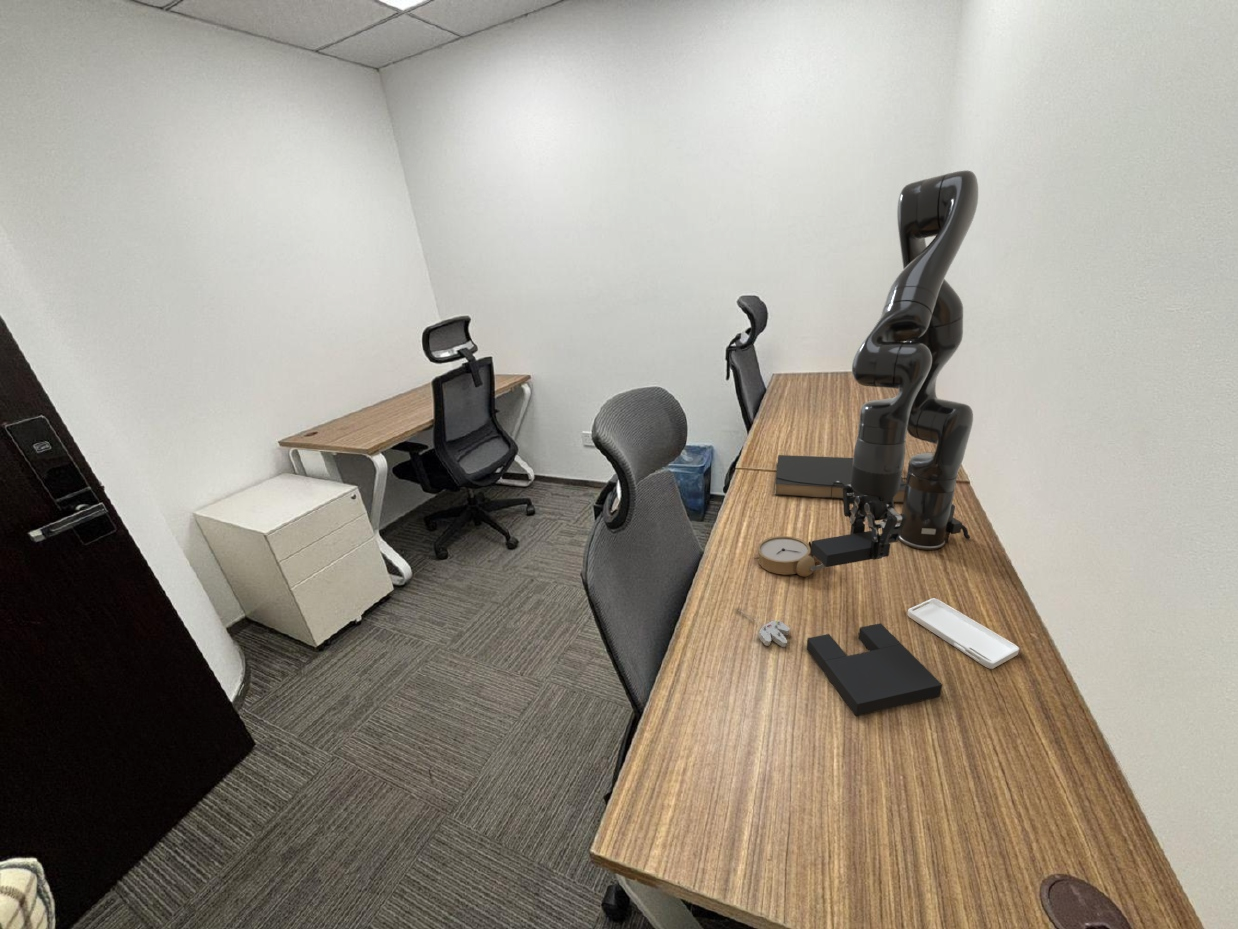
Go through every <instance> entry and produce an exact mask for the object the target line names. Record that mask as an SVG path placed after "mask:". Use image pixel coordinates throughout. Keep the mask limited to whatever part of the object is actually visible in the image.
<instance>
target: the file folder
mask: <svg viewBox="0 0 1238 929" xmlns="http://www.w3.org/2000/svg"><path fill="white" fill-rule="evenodd" d="M852 464H853V457H844V456H843V457H841V456H840V457H839V456H837V457H836V456H813V455H790V454H789V455H787V454H778V455H777V463H776V474H775V483H774V484H775V485H774V486H775V487H774V496H788V497H803V498H817V499H830V500H833V499H834V500H843V486H844V485H849V484H850V482H851V473H852ZM905 485H906V482H905V481H904V479H903V477H902V478H901V484H900V490H899V491H898V493H897V494H896V495H895V496H894V497H893V503H895V504H903V498H904V491H905Z"/></svg>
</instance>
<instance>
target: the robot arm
mask: <svg viewBox="0 0 1238 929" xmlns="http://www.w3.org/2000/svg"><path fill="white" fill-rule="evenodd" d="M978 204H979V183H978V178H977V176H976V174H975V173H974V172H973V171H972V170H969V169H968V170H966V169H965V170H958V171H953V172H948V173H945V174H941V175H937V176H933V177H930V178H925V179H921V180H917V181H914V182H910V183H907V184H906V185H905V186H903V188H902V189H901V191H900V192H899V196H898V200H897V208H896V218H897V222H896V223H897V232H898V238H899V247H900V254H901V262H902V271H900V273H899V274H897V276H896V277H895V279H894V280H893V282H892V283H891V285H890V287H889V290H888V292H887V296H886V298H885V302H884V305H883V308H882V311H881V314H880V317H879V319H878V320H877V322H876V323H875V325H874V326H873V328H872V329H871V331H870V332H869V334H868V335H867V336H866V337H865V339H864V340H863V342H862V343H861V344H860V345H859V347H858V349H857V351H856V353H855V355H854V357H853V360H852V364H851V373H852V376H853V379H854V380H855V382H856V383H857V384H858V385H860V386H864V387H869V388H885V389H897V390H898V392H897V394H896V396H894V397H890V398H882V399H881V398H880V399H875V400H874V399H873V400H869V401H866V402H864V404H863V405H861V408H860V411H859V418H858V428H857V436H856V441H855V444H854V449H853V455H852V458H853V464H852V473H851V482H850V484H849V485H844V486H843V499H842V502H843V503H842V504H843V515H844V517H846V518H847V517H848V518H849V521H848V522H849V524H850V533H849V534H855V533H861V532H865V530H866V524H865V522H866V521H867V526H868V528H869V529H870V531H872V539H873V540H872V542H871V550H870V558H872V559H871V560H873V561H875V560H881V559H883V558H885V557H884V556H885V550H886V544H888V543H889V544H893V543H897V542H898V541H900V542H901V543H902V544H904V545H905V546H907V547H910V548H913V549H917V550H923V551H935V550H936V551H937V550H939V549H942V548H943V547H944V546H945V544H948V543H949V540H950V535H955V534H961V531H962V533H963V534H962V535H963V537H964V538H965V539H966V540H970V539H971V536H970V534H969V531H968V528H967V527H966V526H965V525H964V524H963V522H962V521H960V520H958V519H956V518H955V517H954V514H955V511H956V506H955V504H954V503H953V500H954V496H955V490H956V485H957V481H958V475H959V470H960V468H961V467H962V466H961V465H962V463H963V461H964V458H965V455H966V450H967V448H968V442H969V439H970V436H971V432H972V428H973V424H974V423H973V422H974V411H973V409H972V408H971V406H970V405H968V404H966V403H963V402H957V401H953V400H948V399H943V398H942V399H941V398H938V397H937V393H936V387H937V380H938V376H939V374H940V372H942V370H943V368H944V367H945V366H946V365H947V363H948V362H949V361H950V360H951V358H952V357H953V356H954V354H956V352H957V350H958V349H959V347H960V346H961V343H962V341H963V338H964V305H963V301H962V299H961V297H960V296H959V294H958V293H957V292H956V291H955V289H954V288H953V287H952V285H951V284H950V283H949V282H948V281H947V280H946V279H945V278H946V275H947V274H948V271H949V270H950V268H951V267H952V266H951V265H952V264H953V262H954V260H955V258H956V257H957V254H958V252H959V251H960V249H961V246H962V245H963V242H964V240H965V238H966V236H967V234H968V233H969V230H970V228H971V227H972V226H971V225H972V223H973V221H974V218H975V215H976V212H977V208H978ZM933 237H934V238H933ZM927 238H932V240H931V241H930V242H929V244H928V245H927V243H926V239H927ZM907 433H908V435H909V436H910V437H913V438H914V439H916V440H921V441H924V442H927V443H931V444H934V445H936V446H935V450H934V451H929V452H920V453H916V454H914V455H912V456H911V457H910V458H909V461H908V464H907V472H906V478H905V491H904V498H903V503H901V511H900V513H898V512H897V511H896V510H895V504H894V502H893V497H894V496H895V495H896V494H897V493H898V491H899V490H900V484H901V478H902V479H903V470H904V464H905V459H906V439H907ZM851 505H852V507H850V506H851ZM877 521H879V522H877ZM880 529H881V533H880V532H879V530H880Z"/></svg>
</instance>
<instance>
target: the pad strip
mask: <svg viewBox="0 0 1238 929" xmlns="http://www.w3.org/2000/svg"><path fill="white" fill-rule="evenodd" d="M872 540H873V539H872V531H871V530H867V531H864V532H861V533H855V534H850V533H849V534H844V535H838V536H833V537H832V536H831V537H827V538H820V539H815V540H811V542H812V546H811V553H812V554H813V555H814V556H815V557H816V558H817V559H818V562H820V563H821V564H823V565H824V566H825V568H830V567H837V566H842V565H847V564H853V563H858V562H864V561H871V560H873V559H872V558H870V550H871V542H872ZM890 549H891V543H888V544H886V550H885V556H884V557H883V558H887V557H889V555H890V551H891V550H890Z"/></svg>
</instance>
